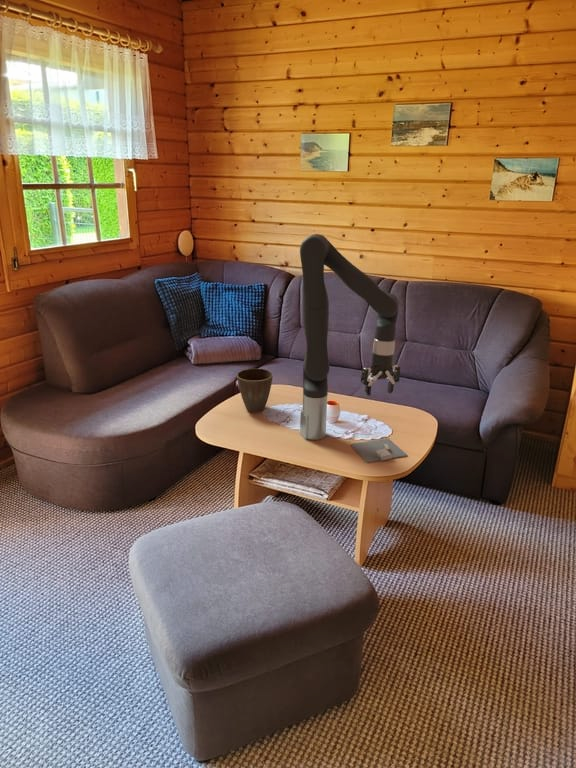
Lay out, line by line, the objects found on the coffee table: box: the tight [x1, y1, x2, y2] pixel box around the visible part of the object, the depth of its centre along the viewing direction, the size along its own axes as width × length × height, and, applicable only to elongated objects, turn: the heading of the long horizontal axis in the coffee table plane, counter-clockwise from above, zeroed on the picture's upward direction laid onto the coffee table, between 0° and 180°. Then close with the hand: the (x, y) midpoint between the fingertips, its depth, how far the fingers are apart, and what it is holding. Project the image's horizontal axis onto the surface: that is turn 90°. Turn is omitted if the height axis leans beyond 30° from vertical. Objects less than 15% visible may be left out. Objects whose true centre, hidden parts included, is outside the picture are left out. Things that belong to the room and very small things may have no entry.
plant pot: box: [236, 368, 274, 414], centre depth 234 cm, size 15×15×16 cm
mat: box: [349, 437, 408, 464], centre depth 204 cm, size 16×14×1 cm
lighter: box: [375, 444, 392, 461], centre depth 200 cm, size 7×2×8 cm
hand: (378, 393), depth 201 cm, fingers open, 8 cm apart
